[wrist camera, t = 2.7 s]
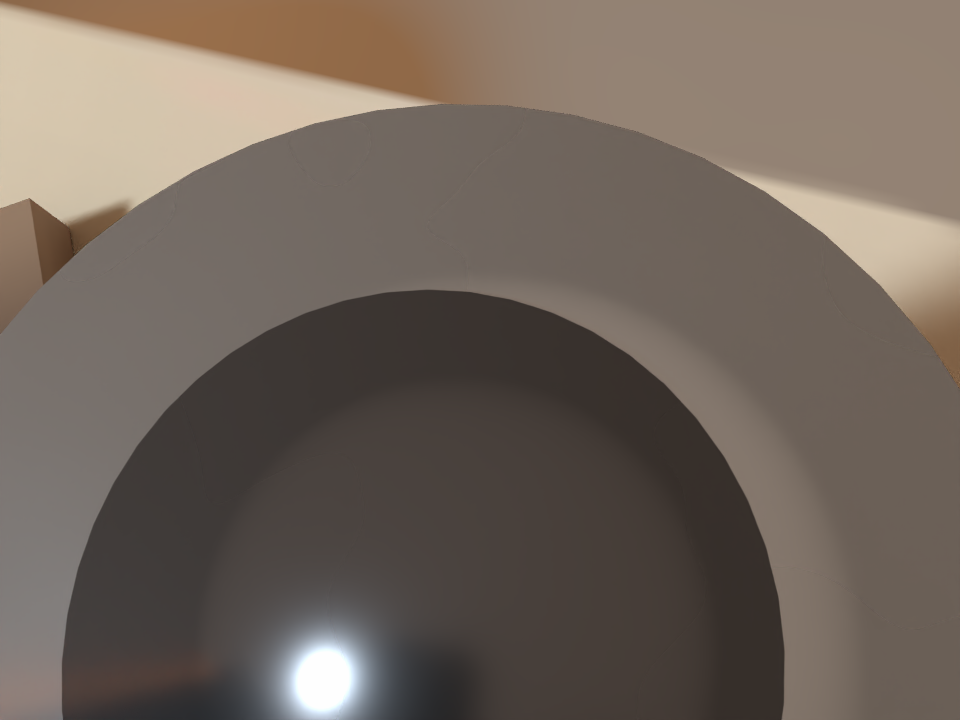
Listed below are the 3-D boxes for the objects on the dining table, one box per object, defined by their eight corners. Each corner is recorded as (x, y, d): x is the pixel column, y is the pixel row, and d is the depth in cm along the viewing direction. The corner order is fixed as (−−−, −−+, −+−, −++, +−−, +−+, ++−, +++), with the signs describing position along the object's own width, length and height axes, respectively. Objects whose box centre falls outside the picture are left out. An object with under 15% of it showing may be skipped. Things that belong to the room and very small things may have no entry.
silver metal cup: (755, 854, 15) (1436, 1875, 3) (352, 820, 16) (-466, 1458, 4) (739, 444, 17) (1088, -19, 5) (382, 438, 18) (-85, 41, 6)
